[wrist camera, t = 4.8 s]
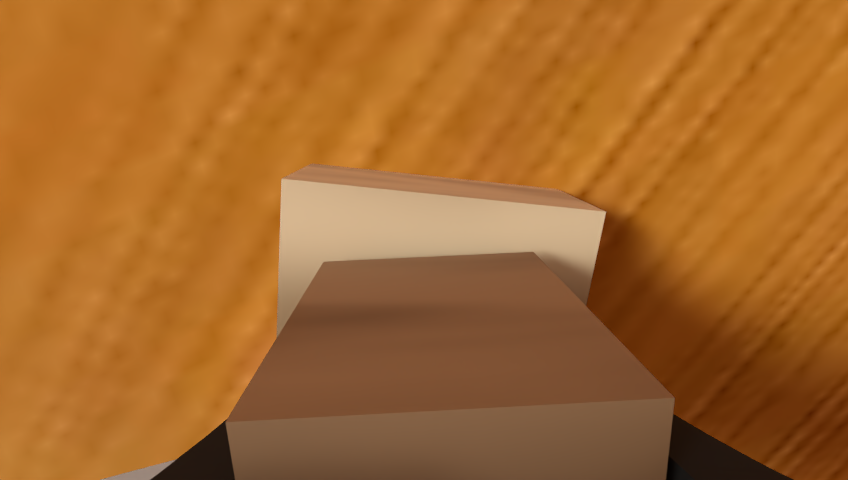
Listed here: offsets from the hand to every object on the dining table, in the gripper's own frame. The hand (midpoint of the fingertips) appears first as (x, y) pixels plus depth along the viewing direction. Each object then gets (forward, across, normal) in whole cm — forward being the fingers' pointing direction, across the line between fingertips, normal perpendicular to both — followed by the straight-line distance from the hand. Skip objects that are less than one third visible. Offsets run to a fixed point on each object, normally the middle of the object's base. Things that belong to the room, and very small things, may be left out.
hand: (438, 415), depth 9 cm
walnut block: (+2, 0, 0) cm, 2 cm away
